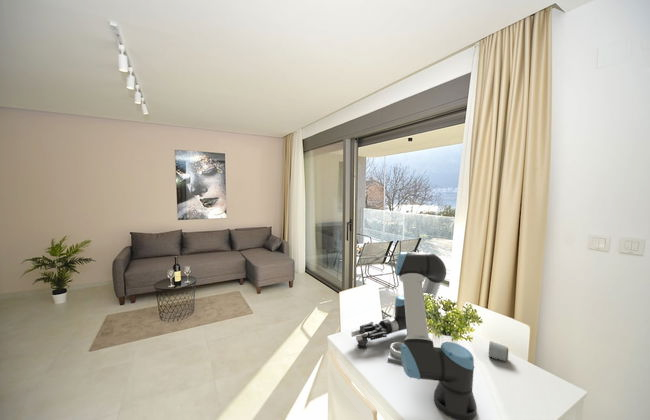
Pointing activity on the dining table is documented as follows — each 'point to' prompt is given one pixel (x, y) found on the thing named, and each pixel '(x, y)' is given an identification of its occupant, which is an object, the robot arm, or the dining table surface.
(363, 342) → the dark figurine
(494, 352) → the grey rounded block
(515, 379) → the dining table surface
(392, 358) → the housing
